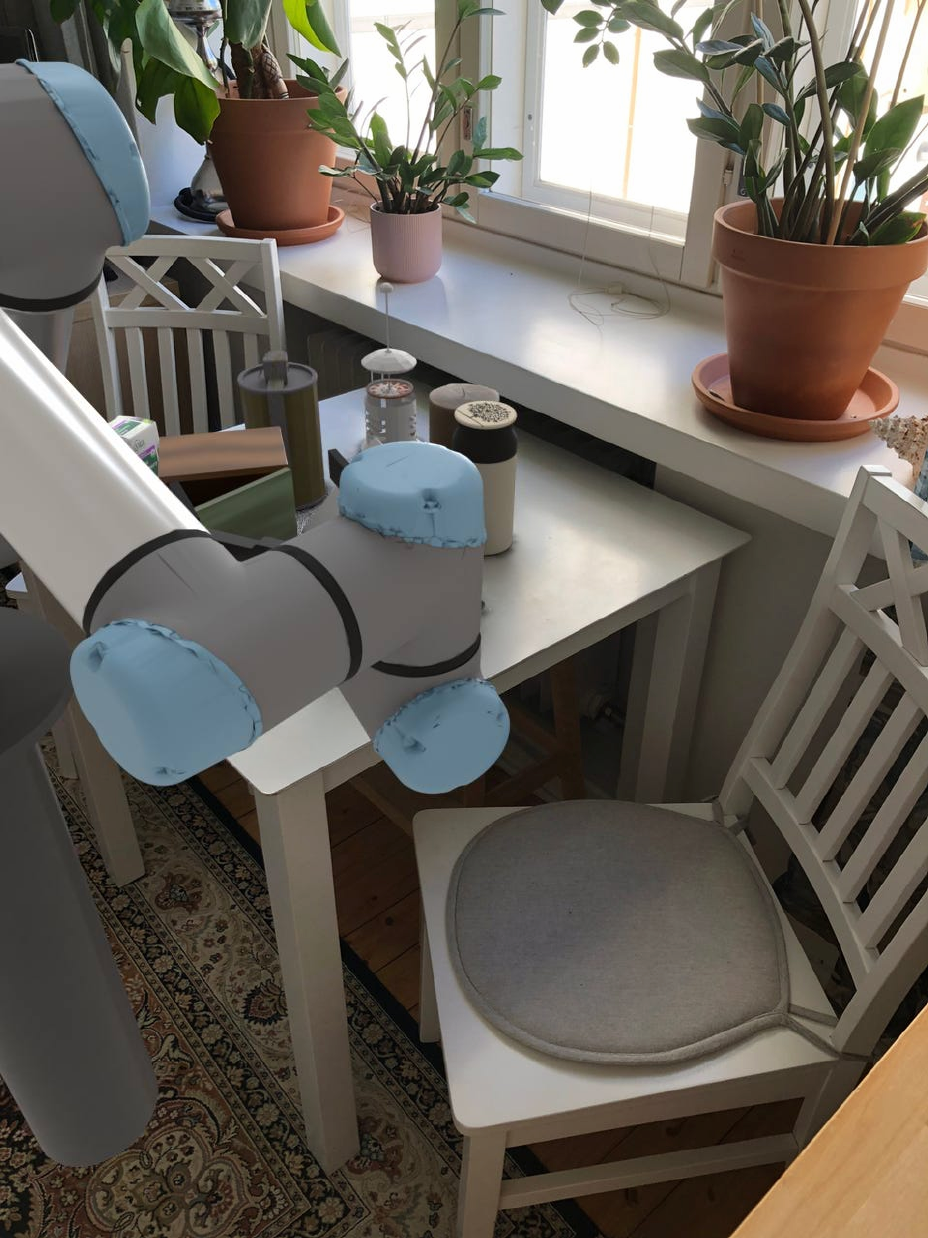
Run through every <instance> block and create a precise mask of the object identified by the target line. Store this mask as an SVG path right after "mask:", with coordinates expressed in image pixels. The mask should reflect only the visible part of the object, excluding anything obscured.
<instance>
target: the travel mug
mask: <svg viewBox="0 0 928 1238" xmlns="http://www.w3.org/2000/svg"><path fill="white" fill-rule="evenodd" d="M517 417H518V413H517V411H516V410H515V409H514V408H513V407H511V406H510V405H508V404H506V403H503V402H500V401H499V402H494V401H475V402H470V403H466V404H464V405H461V406H460V407H458V408H457V409H456V411H455V418H456V420H457V423H458V427H457V429H456V431H455V433H454V434H453V437H452V451H455V452H458V453H460V454H462V455H464V456H465V457H467V458H468V459H469V460H470V461H471V462H472V463H473V464H474V465H475V466H476V468H477V469H478V471H479V473H480V475H481V478H482V482H483V497H484V519H485V529H486V530H487V532H488V537H487V539H486V541H485V544H484V556H488V555H496V554H499V553H502V552H505V551H506V550H508V549H509V548H510V547H511V546H512V543H513V539H514V519H515V518H514V517H515V499H516V478H517V460H518V458H517V457H518V442H519V441H518V435H517V433H516V431H515V430H514V428H513V427H514V423H515V421H516V420H517Z"/></svg>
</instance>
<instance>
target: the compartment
mask: <svg viewBox="0 0 928 1238" xmlns="http://www.w3.org/2000/svg"><path fill="white" fill-rule="evenodd" d="M286 467H287V468H288V462H287V457H286V453H285V448H284V444H283V439H282V434H281V430H280V426H278V427H267V428H256V429H245V428H244V429H234V430H224V431H223V430H222V431H213V432H202V433H191V434H179V435H168V436H167V435H166V436H159V461H158V478H159V479H160V480H161V481H162V482H163V483H164V484H165V485H166V486H167V487H168V489H169V490H170V487H169V483H172V482H177V481H178V482H179V484H180V485H181V487H182V489H183V490H184V492H185V494H186V495H187V497H188V499H189V501H190V502H191V504H192V506H193V507H194V508H195V507H197V506H200V505H202V504H204V503H206V502H209V501H211V500H213V499H215V498H218V497H220V496H222V495H224V494H227V493H229V492H231V491H234V490H236V489H238V488H240V487H243V486H245V485H247V484H249V483H252V482H254V481H256V480H258V479H261V478H263V477H265V476H268V475H270V474H272V473H274V472H277V471H279V470H281V469H283V468H286Z"/></svg>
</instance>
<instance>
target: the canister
mask: <svg viewBox="0 0 928 1238" xmlns="http://www.w3.org/2000/svg"><path fill="white" fill-rule="evenodd" d="M318 376H319V375H318V373H317V371H316V370H315V369H314V368H312V367H311V366H309V365H307V364H302V363H298V362H291V361H289V357H288V352H286V351H285V350H269V351H267V352H266V353H264V356H263V357H262V363H259V364H256V365H253V366H250V367H248V368H246V369H244V370H243V371H241V372H240V373H239V374H238V375H237V379H236V382H237V385H238V386H239V391H240V400H241V406H242V414H243V421H244V430H245V429H256V428H267V427H278V426H280V430H281V434H282V439H283V444H284V448H285V453H286V457H287V462H288V468H289V469H291V475H292V484H293V493H294V503H295V512H296V511H302V510H306V509H309V508H311V507H315V506H316V505H318V504H319V503H321V502H322V501H323V500H325V498H326V497H327V494H328V486H327V485H326V483H325V470H324V457H323V446H322V445H323V443H322V432H321V418H320V407H319V394H318V393H319V392H318V383H317V382H318Z"/></svg>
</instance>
